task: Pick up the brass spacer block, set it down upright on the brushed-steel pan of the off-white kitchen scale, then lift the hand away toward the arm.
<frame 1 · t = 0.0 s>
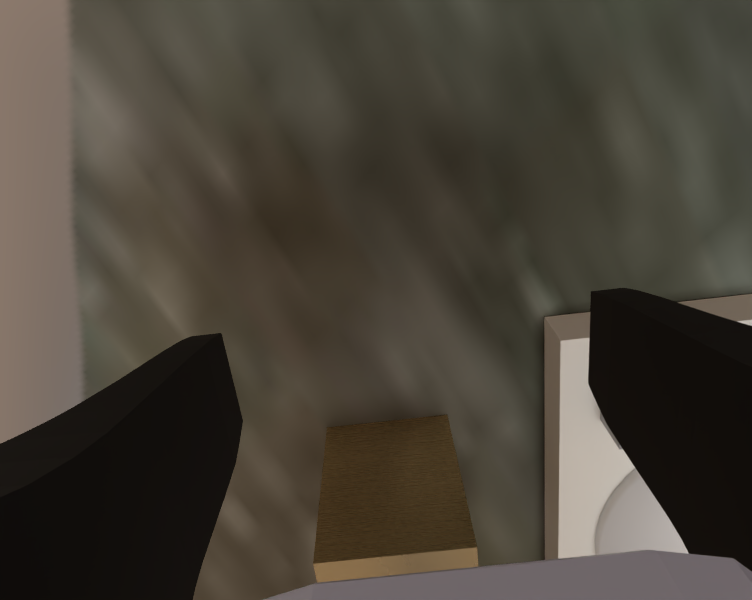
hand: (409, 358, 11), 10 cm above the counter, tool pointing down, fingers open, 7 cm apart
brass spacer: (393, 469, 25), on the counter
kitchen scale: (695, 457, 25), on the counter
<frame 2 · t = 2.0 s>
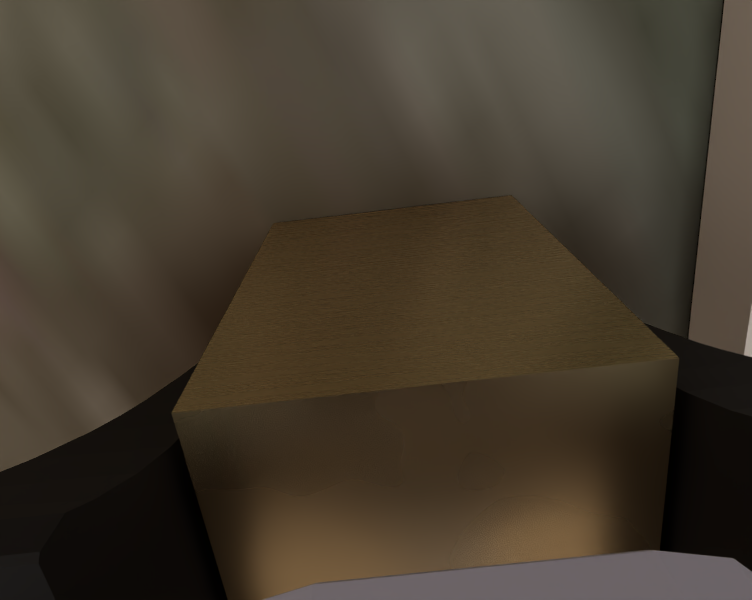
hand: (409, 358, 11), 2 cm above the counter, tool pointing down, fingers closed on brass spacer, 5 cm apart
brass spacer: (403, 317, 13), on the counter, touching gripper
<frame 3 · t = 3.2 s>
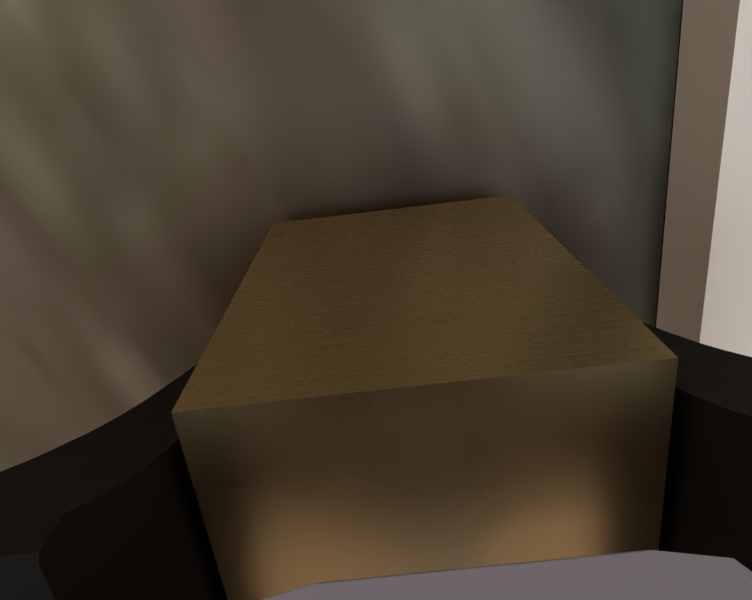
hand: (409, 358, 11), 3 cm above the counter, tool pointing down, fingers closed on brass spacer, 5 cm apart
brass spacer: (402, 316, 13), point 1 cm above the counter, touching gripper
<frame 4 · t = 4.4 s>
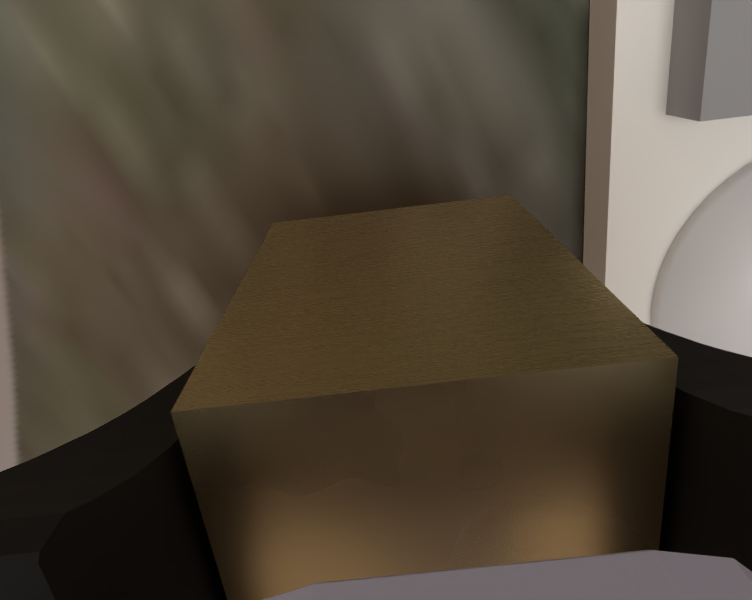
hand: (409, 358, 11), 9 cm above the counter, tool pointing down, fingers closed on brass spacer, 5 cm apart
brass spacer: (402, 316, 13), point 7 cm above the counter, touching gripper
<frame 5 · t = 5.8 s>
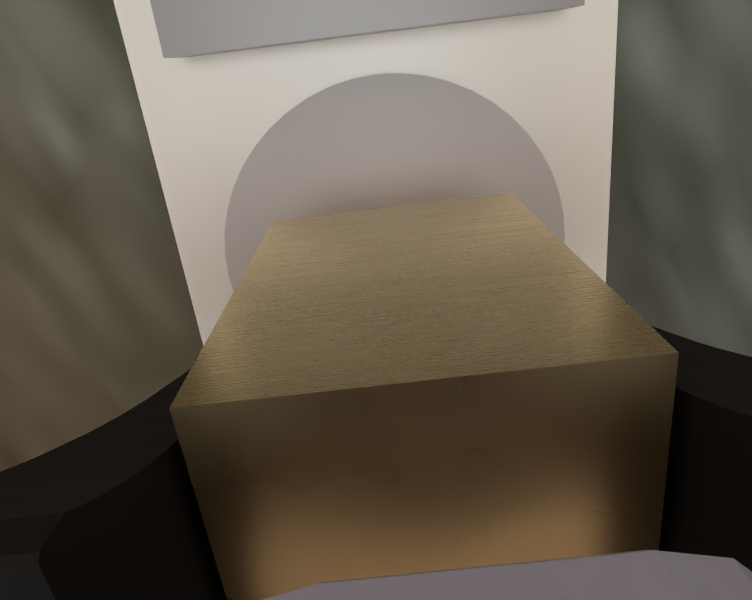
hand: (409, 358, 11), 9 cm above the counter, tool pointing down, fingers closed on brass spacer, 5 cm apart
brass spacer: (402, 314, 13), point 7 cm above the counter, touching gripper
kitchen scale: (385, 171, 19), on the counter
when the fingers open (6 cm above the counter, at t = 7.1 s): brass spacer drops 1 cm, resting on kitchen scale.
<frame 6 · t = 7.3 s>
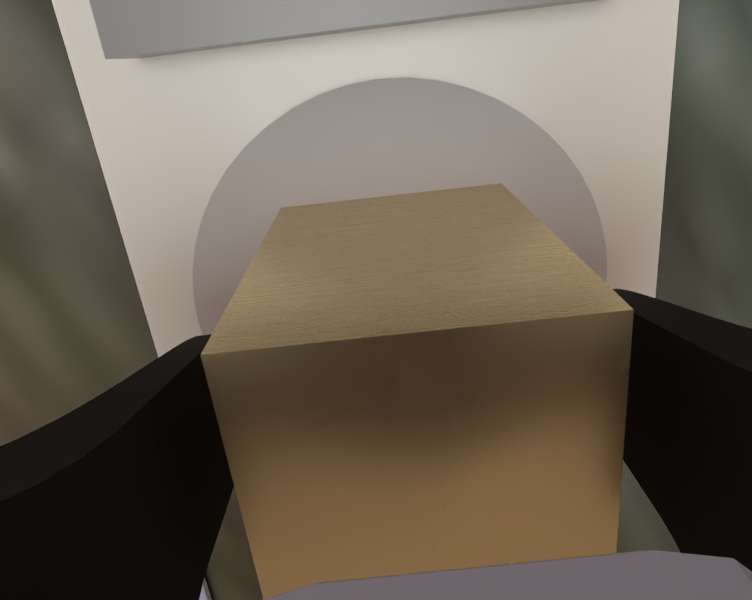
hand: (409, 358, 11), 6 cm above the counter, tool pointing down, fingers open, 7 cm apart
brass spacer: (400, 296, 14), point 3 cm above the counter, touching kitchen scale
kitchen scale: (387, 193, 16), on the counter
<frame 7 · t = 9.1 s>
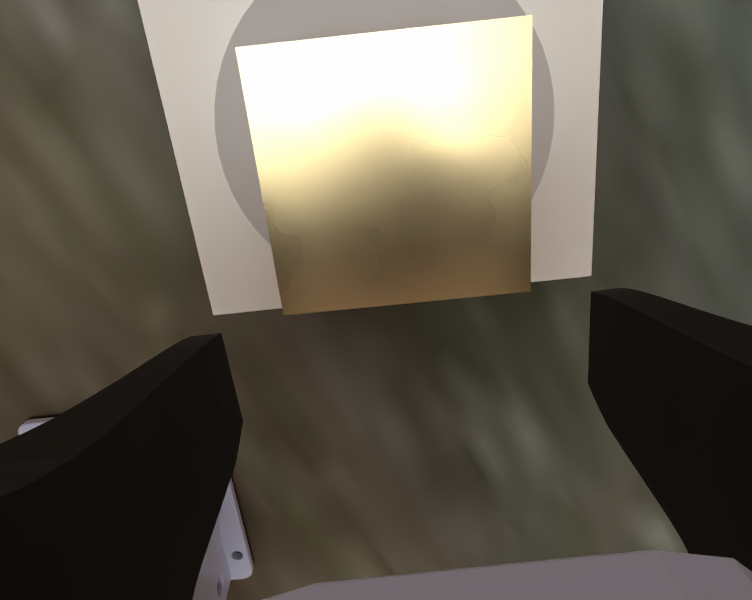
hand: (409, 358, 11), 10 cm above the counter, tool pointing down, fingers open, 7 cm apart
brass spacer: (384, 131, 17), point 3 cm above the counter, touching kitchen scale
kitchen scale: (376, 59, 19), on the counter
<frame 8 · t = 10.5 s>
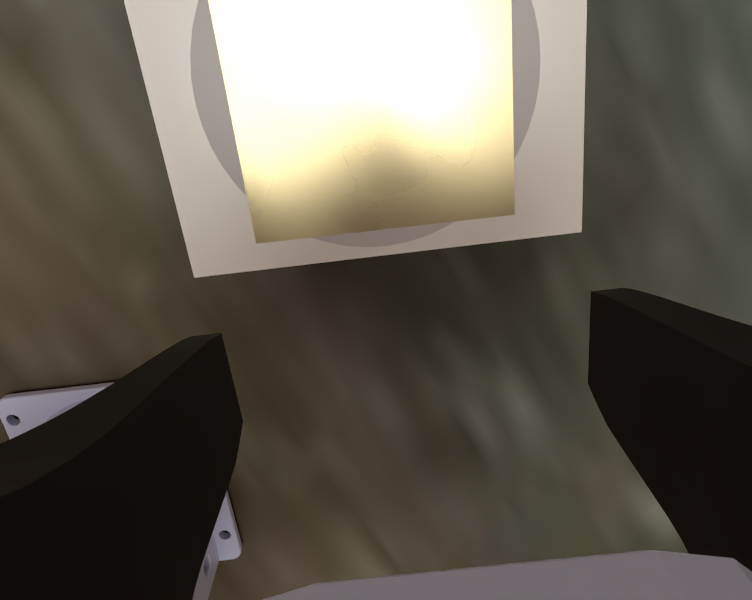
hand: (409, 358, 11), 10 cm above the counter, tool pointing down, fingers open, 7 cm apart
brass spacer: (366, 78, 17), point 3 cm above the counter, touching kitchen scale
kitchen scale: (358, 10, 18), on the counter
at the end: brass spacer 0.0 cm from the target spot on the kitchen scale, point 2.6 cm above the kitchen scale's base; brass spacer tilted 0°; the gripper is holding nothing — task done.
